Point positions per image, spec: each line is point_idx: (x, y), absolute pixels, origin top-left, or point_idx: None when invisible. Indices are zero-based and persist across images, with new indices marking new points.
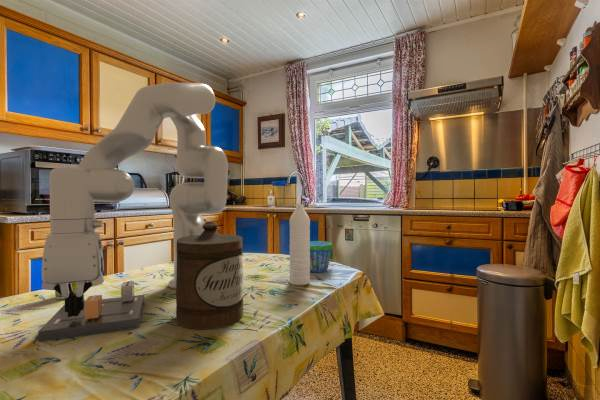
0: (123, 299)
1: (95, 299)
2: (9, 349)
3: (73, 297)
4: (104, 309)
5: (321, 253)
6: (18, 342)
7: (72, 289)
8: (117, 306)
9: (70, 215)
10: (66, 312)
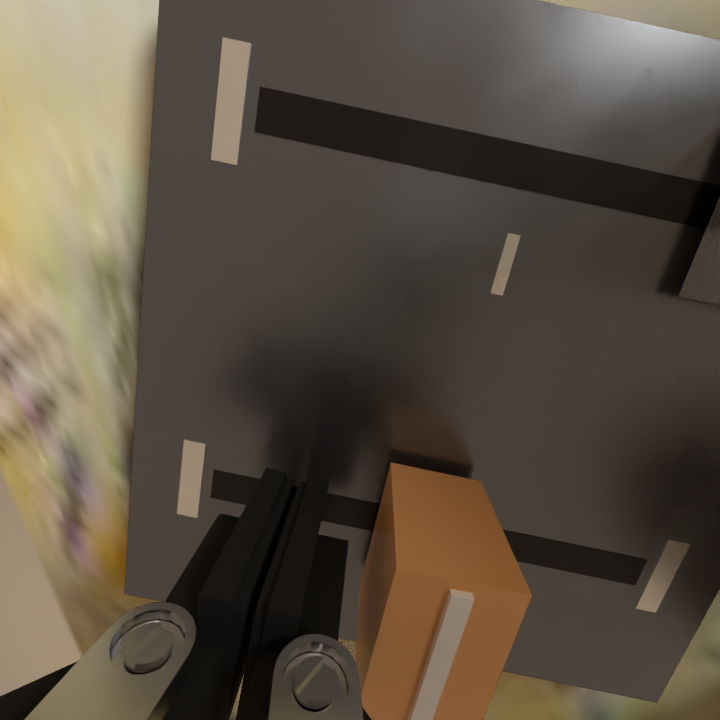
0: (714, 303)
1: (449, 717)
2: (54, 561)
3: (235, 674)
4: (502, 402)
5: None
6: (63, 498)
7: (174, 681)
8: (611, 383)
9: None
10: (221, 302)
